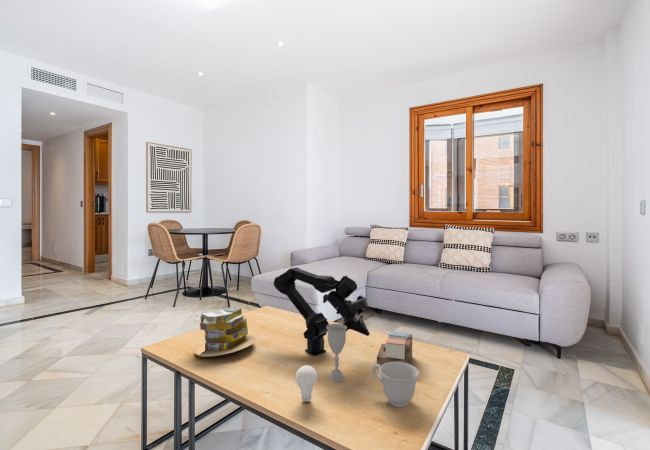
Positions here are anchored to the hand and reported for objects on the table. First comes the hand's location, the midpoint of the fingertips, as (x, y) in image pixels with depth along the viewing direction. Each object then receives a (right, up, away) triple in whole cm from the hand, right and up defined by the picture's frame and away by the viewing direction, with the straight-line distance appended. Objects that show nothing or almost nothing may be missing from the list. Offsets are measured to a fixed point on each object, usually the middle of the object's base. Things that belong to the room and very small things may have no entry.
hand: (368, 335), depth 130 cm
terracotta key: (+10, -7, -3) cm, 12 cm away
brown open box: (+10, -11, +1) cm, 15 cm away
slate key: (+12, -6, +5) cm, 15 cm away
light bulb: (-22, -12, -25) cm, 36 cm away
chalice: (-13, -12, -11) cm, 20 cm away
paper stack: (-59, -11, +14) cm, 61 cm away
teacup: (+5, -12, -25) cm, 28 cm away
